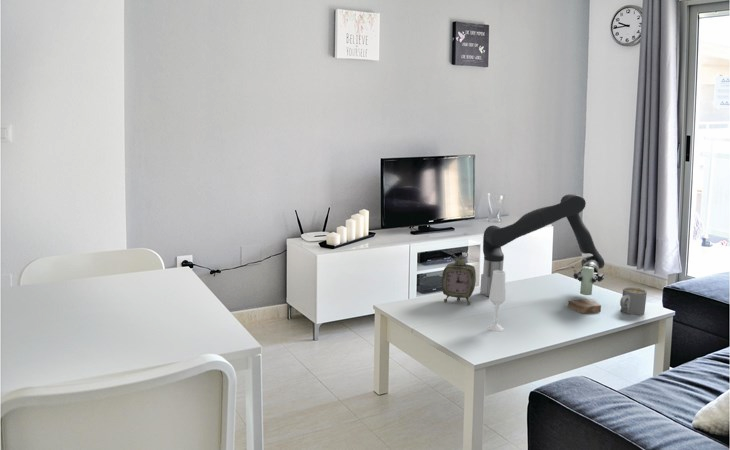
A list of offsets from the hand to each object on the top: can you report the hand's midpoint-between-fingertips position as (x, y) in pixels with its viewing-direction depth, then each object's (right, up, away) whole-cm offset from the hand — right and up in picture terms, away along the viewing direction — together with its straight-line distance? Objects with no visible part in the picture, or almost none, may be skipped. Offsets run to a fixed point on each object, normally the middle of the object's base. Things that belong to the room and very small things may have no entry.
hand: (586, 280), depth 297 cm
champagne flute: (-45, -18, -23) cm, 54 cm away
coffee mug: (+21, -15, +4) cm, 26 cm away
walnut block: (+1, -14, +5) cm, 15 cm away
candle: (+1, -6, +4) cm, 7 cm away
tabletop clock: (-56, -11, +11) cm, 58 cm away
